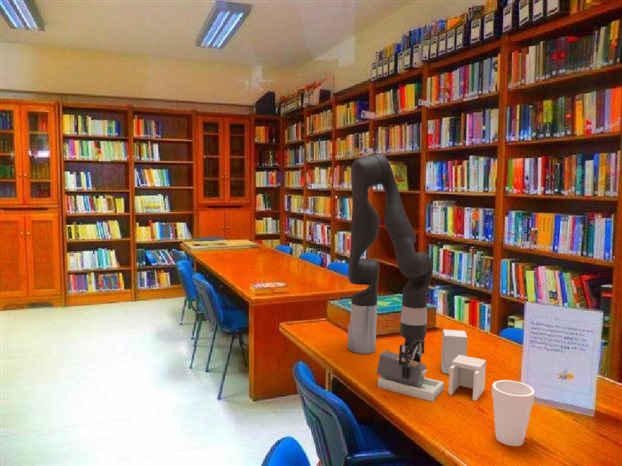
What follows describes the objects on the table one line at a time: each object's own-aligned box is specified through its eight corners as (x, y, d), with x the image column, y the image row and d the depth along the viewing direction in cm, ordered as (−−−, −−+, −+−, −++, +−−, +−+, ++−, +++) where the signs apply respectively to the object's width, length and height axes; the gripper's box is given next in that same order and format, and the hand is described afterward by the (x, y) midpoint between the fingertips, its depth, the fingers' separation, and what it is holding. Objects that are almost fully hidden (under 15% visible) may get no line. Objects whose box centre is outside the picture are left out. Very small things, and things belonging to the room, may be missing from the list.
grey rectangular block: (419, 391, 149) (423, 370, 147) (376, 374, 156) (380, 353, 154) (424, 386, 152) (428, 365, 151) (382, 369, 159) (386, 349, 158)
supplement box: (465, 375, 164) (468, 337, 162) (441, 373, 165) (443, 335, 164) (463, 367, 171) (465, 330, 169) (440, 365, 172) (442, 328, 171)
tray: (377, 387, 153) (377, 379, 153) (390, 377, 161) (390, 369, 161) (432, 401, 144) (433, 393, 144) (443, 390, 152) (443, 382, 152)
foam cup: (526, 454, 118) (530, 399, 116) (485, 442, 123) (488, 390, 121) (533, 436, 126) (537, 385, 124) (494, 426, 131) (497, 377, 129)
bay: (448, 393, 149) (449, 363, 148) (457, 383, 157) (459, 354, 156) (476, 400, 145) (478, 369, 144) (484, 390, 153) (486, 360, 152)
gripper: (416, 328, 142) (414, 384, 144) (434, 317, 154) (431, 369, 156) (391, 324, 146) (389, 378, 148) (410, 313, 158) (408, 363, 160)
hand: (411, 373), depth 152 cm, fingers open, 8 cm apart
